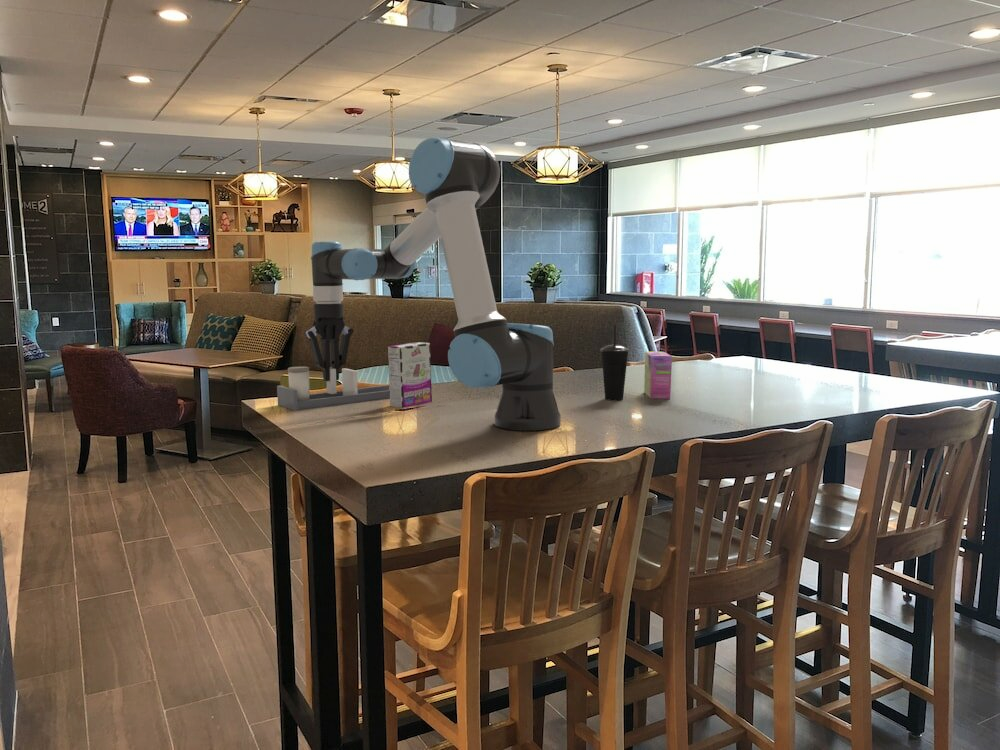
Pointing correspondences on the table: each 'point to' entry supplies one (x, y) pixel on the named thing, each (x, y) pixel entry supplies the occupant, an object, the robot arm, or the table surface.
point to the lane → (329, 398)
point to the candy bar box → (409, 375)
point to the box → (657, 375)
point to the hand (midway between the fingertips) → (331, 393)
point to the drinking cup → (614, 369)
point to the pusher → (349, 382)
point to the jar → (299, 382)
